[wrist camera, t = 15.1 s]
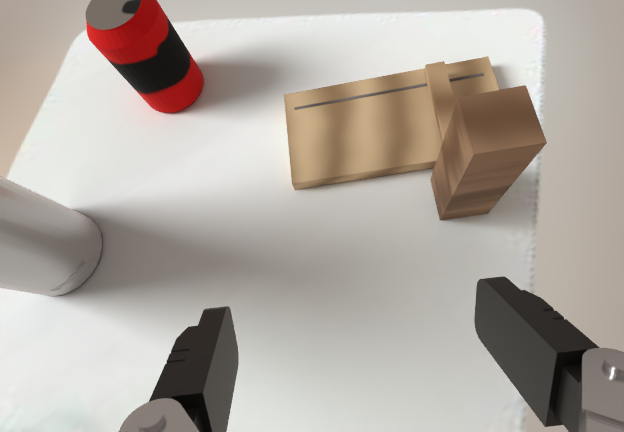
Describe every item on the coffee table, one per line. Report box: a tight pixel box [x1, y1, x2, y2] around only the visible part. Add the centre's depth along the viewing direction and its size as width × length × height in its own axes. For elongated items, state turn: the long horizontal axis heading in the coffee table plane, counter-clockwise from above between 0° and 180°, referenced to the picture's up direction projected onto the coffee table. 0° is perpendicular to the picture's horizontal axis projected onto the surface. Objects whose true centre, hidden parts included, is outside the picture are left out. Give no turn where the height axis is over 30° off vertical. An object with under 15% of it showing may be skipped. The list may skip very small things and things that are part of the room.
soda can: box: [86, 0, 203, 113], centre depth 41 cm, size 8×8×12 cm
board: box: [284, 57, 499, 190], centre depth 39 cm, size 22×11×2 cm, turn 97°
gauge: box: [424, 61, 547, 220], centre depth 32 cm, size 15×4×13 cm, turn 7°
